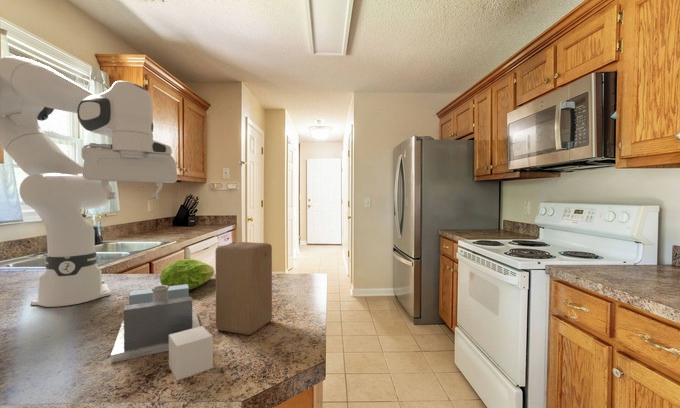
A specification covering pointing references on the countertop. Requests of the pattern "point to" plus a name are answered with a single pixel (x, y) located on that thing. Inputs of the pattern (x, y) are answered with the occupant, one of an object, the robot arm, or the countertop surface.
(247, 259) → the wooden block
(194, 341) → the white cube
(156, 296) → the flask
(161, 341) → the base
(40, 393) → the countertop surface
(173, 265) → the lettuce
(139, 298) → the sliding jaw
